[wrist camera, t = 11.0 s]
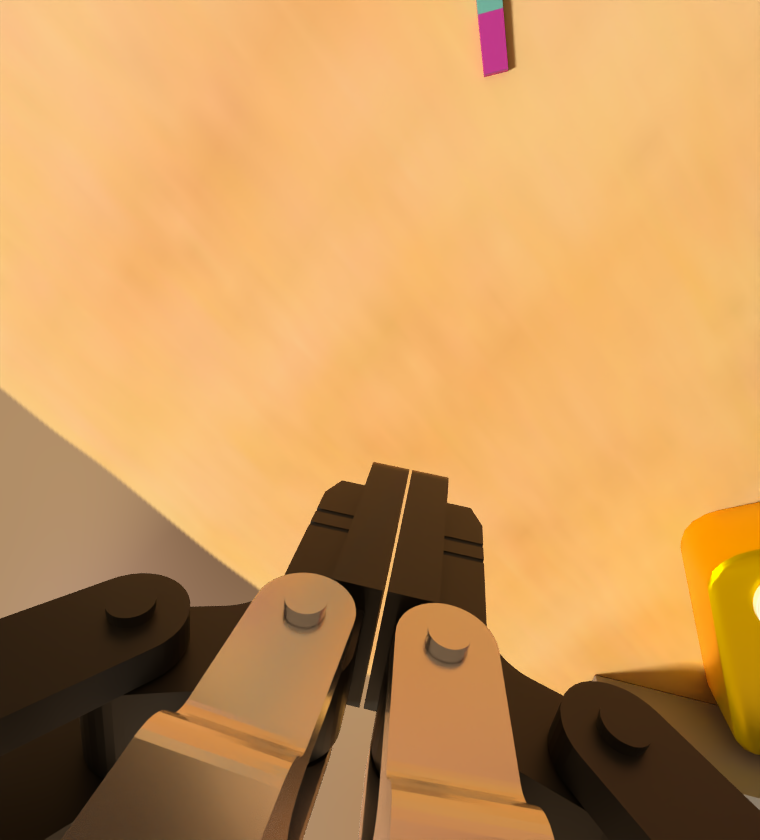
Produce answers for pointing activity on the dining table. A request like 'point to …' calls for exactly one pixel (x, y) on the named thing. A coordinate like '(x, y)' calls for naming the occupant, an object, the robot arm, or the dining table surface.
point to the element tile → (728, 612)
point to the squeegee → (492, 36)
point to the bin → (704, 735)
